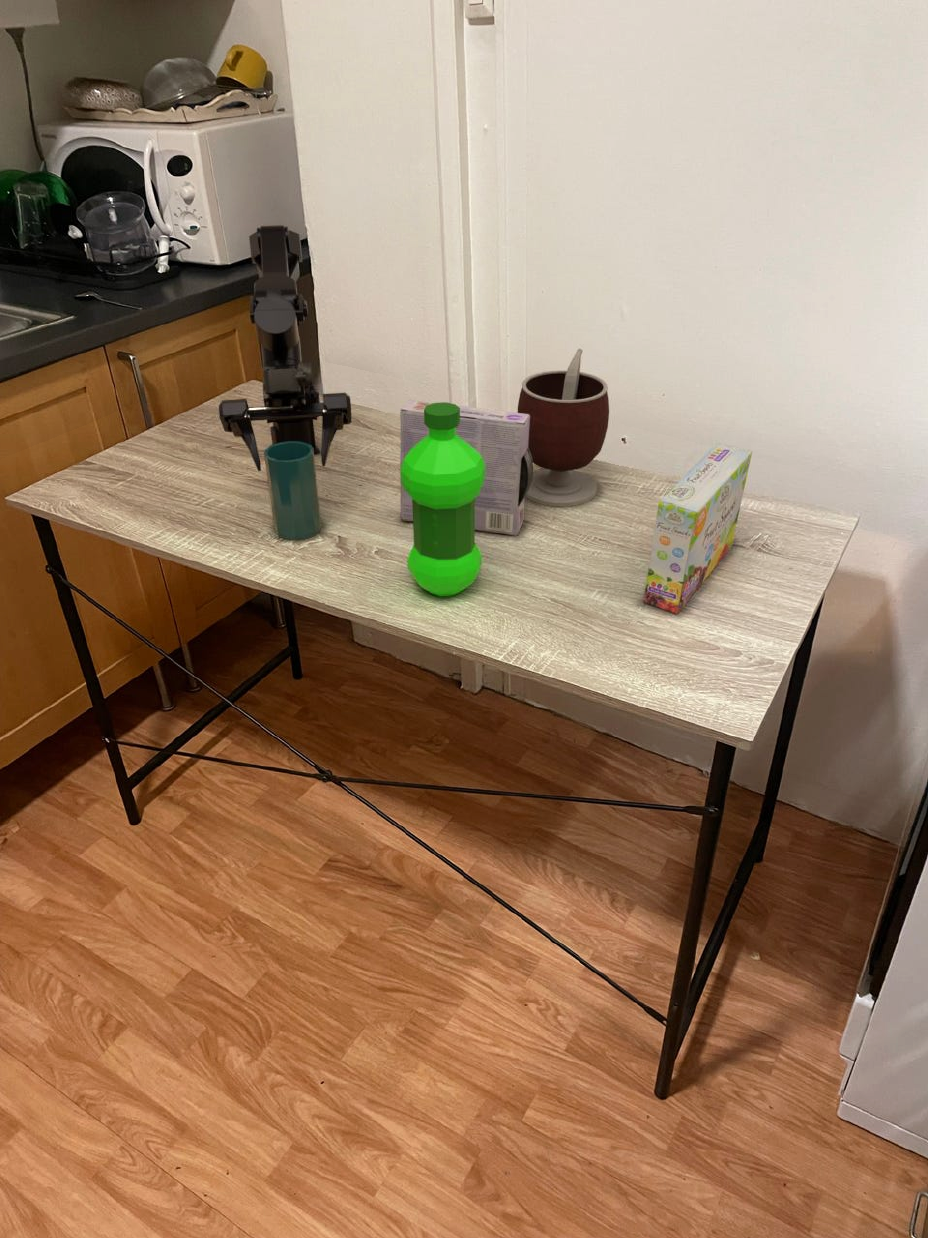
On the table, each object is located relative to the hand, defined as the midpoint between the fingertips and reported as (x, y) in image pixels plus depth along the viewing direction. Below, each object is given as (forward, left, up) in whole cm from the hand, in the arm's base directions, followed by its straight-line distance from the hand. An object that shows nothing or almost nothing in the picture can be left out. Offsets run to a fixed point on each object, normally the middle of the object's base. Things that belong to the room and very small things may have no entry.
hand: (291, 467), depth 133 cm
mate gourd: (-41, +9, -9) cm, 43 cm away
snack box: (-42, +40, -9) cm, 59 cm away
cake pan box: (-22, +12, -9) cm, 27 cm away
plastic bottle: (-11, +26, -9) cm, 30 cm away
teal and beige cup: (+1, +2, -9) cm, 9 cm away
